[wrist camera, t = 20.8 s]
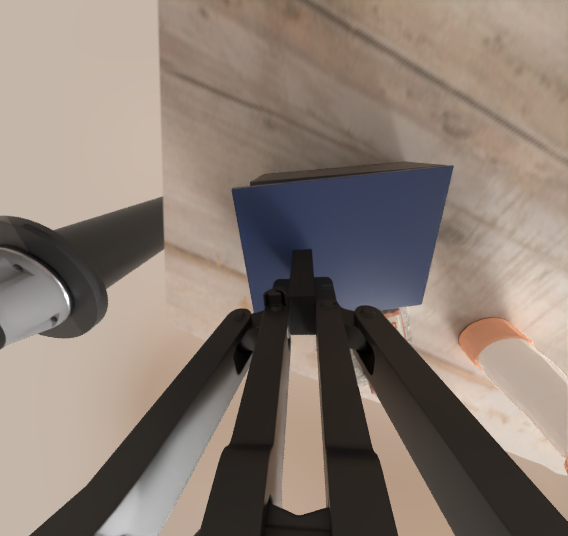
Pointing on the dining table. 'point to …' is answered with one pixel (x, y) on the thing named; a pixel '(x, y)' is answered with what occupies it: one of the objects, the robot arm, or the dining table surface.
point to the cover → (346, 233)
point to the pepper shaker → (521, 376)
